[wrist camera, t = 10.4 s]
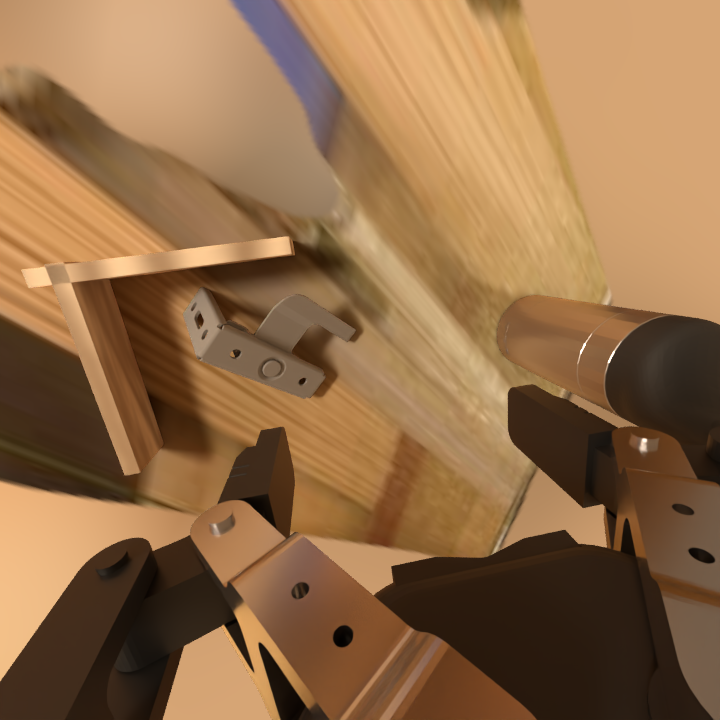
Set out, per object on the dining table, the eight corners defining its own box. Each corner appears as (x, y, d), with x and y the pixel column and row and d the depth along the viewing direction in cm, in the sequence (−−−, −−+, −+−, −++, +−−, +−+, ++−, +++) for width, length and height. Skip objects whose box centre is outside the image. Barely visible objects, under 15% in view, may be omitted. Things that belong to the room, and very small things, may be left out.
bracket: (232, 238, 37) (259, 267, 30) (324, 300, 47) (361, 333, 40) (181, 315, 39) (195, 361, 32) (281, 360, 49) (309, 402, 42)
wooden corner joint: (292, 238, 38) (288, 234, 32) (323, 417, 44) (324, 440, 38) (67, 266, 36) (20, 267, 30) (134, 449, 42) (105, 478, 36)
